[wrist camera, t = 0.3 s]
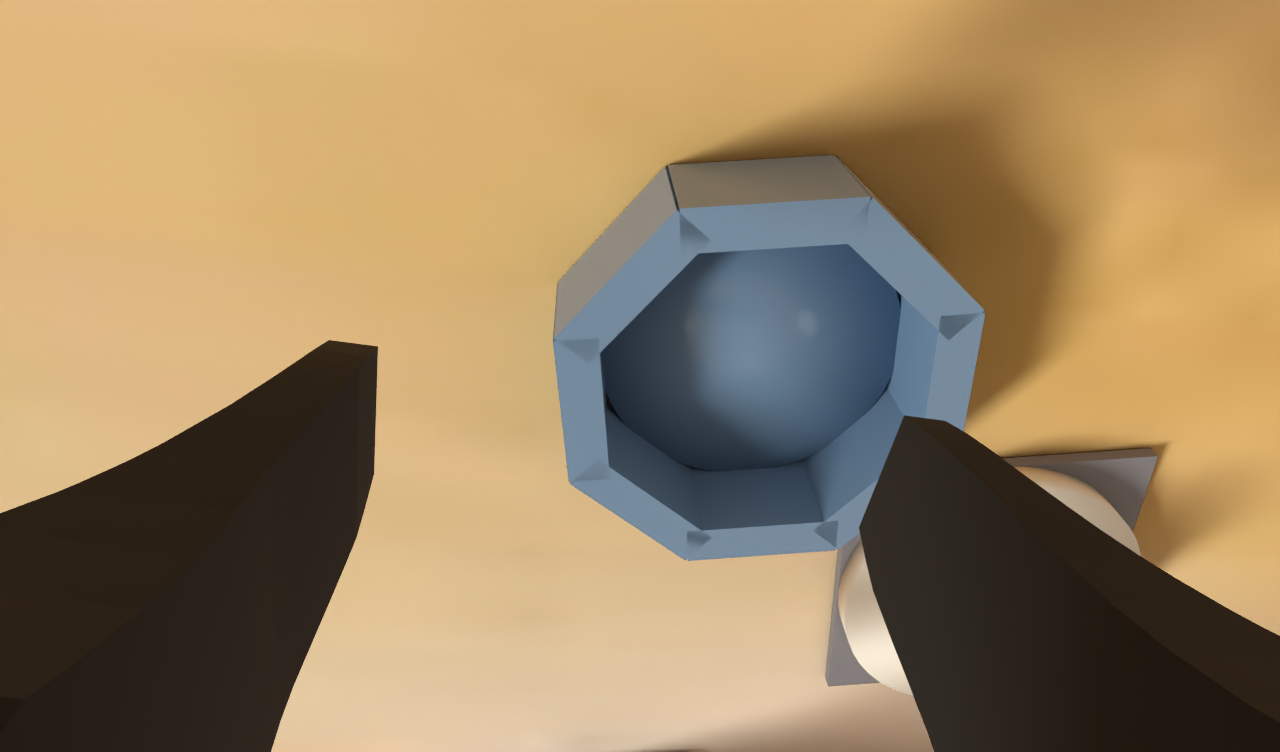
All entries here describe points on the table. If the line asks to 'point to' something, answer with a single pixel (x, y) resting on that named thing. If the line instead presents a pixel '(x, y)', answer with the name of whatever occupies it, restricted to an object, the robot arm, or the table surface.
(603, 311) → the bowl
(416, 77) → the table surface
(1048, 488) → the lid
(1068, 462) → the mat
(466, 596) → the table surface
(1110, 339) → the table surface
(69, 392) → the table surface
